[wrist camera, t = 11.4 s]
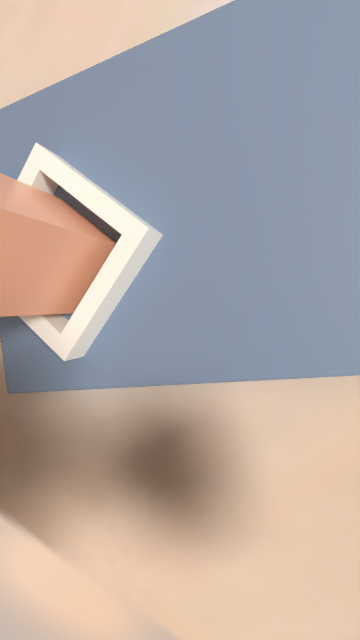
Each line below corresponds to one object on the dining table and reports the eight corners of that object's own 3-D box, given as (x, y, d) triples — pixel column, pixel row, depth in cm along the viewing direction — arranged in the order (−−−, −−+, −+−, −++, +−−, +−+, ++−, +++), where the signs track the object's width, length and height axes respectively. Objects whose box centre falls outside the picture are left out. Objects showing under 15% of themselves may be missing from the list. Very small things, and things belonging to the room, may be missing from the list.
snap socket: (162, 234, 16) (148, 228, 15) (83, 356, 19) (64, 361, 17) (57, 155, 18) (36, 142, 17) (-4, 272, 20) (-28, 270, 19)
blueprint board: (419, 366, 14) (430, 371, 13) (23, 388, 22) (7, 393, 21) (369, -36, 14) (375, -65, 13) (-11, 131, 22) (-28, 122, 21)
